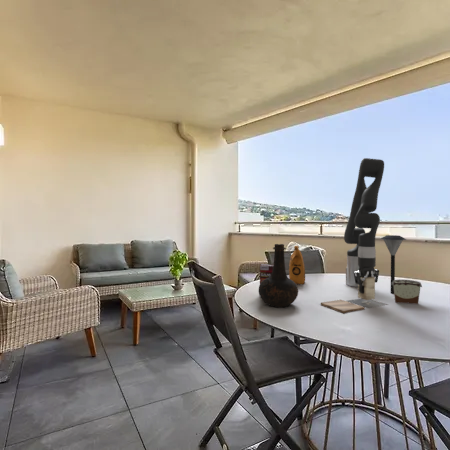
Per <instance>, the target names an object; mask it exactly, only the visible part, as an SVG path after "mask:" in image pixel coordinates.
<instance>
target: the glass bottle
mask: <svg viewBox="0 0 450 450" xmlns="http://www.w3.org/2000/svg"><path fill="white" fill-rule="evenodd" d="M272 249H273V250H274V252H273V253H274V257H273V264H272V265H273V270H272V274H271V276H270V277H269V278H267V279H265V280H263V281H262V282H261V283H260V282H259V285H258V295H259V297H260V299H261V300H262V302H264V303H265V304H266V305H269V306H271V307H276V308H283V307H288V306H291V305H292V304H293V303H294V302H295V301H296V300H297V298H298V295H299V288H298V286H297V285H298V284H296V283H295V282H294V281H292V280H291V279H290V278H289V276H288V274H287V272H286V263H285V262H286V261H285V250H287V248H286V247H285V244H284V243H279V244H278V243H276V244H274V246H273V247H272Z"/></svg>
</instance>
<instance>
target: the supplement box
mask: <svg viewBox="0 0 450 450" xmlns="http://www.w3.org/2000/svg"><path fill="white" fill-rule="evenodd" d="M273 265H274V264H264V263H261V264H260V265H259V284H260V283H261V282H262V281H263V280H265V279H267V278H269V277H270V276H271V274H272V270H273Z"/></svg>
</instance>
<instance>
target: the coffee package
mask: <svg viewBox="0 0 450 450" xmlns="http://www.w3.org/2000/svg"><path fill="white" fill-rule="evenodd" d="M293 249H294V251H293V252H292V254H291V256H290V259H289V263H288V278H289V279H291V280H292V281H294V282H295V283H296V285H304V284H305V281H306V268H305V261H304V258H303V253H302V252H301V250H300V249H299V245H294V246H293Z"/></svg>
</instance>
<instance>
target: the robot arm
mask: <svg viewBox="0 0 450 450" xmlns="http://www.w3.org/2000/svg"><path fill="white" fill-rule="evenodd" d="M384 171H385V161H384V160H383V159H379V158H378V159H377V158H368V157H364V158H362V159H361V161H360V164H359V170H358V176H357V182H356V187H355V192H354V195H353V199H352V203H351V207H350V212H349V213H350V214H349V216H348V217H349V218H348V220H347V223H346V226H345V231H344V234H343V235H344V236H343V240H344V242H345V243H346V244H347V245H355V246H354V247H353V248H350V249H348V250H347V251H346V254H347V255H346V268H345V285H347V286H349V287H355V288H358V284H359V292H360V293H362V294H364V284H365V278H367V277H375V284H376V283H378V280H379V275H380V270H379V269H375V267H376V265H377V263H376V262H377V261H376V258H377V257H376V255H377V254H376V253H377V251H376V236H377V231H378V228H379V226H380V221H381V217H380V215H379V214H378V213H376V212H375V211H376V210H377V209H378V208H377V207H378V197H379V192H380V189H381V184H382V179H383V176H384ZM365 178H373V179H374V180H373V181H372V183H371V184H369V186H367V185H366V180H365ZM365 229H370V230H369V231H368V232H366V230H365ZM361 277H364V278H361ZM361 280H362V282H361Z"/></svg>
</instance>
